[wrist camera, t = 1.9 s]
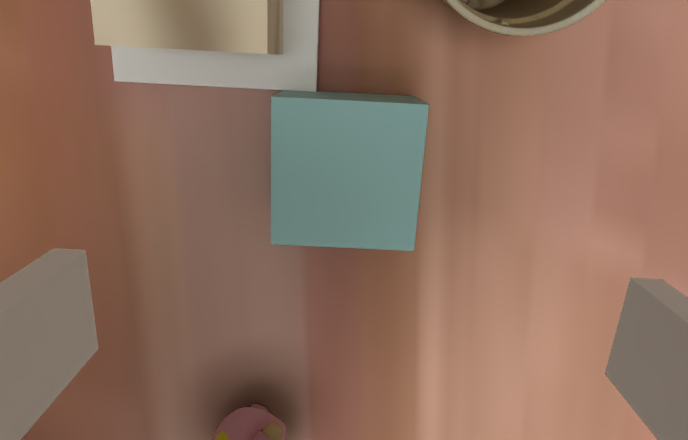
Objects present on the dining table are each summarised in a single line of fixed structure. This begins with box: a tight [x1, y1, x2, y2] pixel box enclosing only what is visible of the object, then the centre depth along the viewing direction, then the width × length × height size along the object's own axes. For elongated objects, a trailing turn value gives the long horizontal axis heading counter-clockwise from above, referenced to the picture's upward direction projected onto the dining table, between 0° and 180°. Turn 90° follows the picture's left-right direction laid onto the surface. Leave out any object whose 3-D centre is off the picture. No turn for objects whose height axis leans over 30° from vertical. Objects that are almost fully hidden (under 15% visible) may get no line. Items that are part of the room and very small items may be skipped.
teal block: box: [271, 90, 429, 251], centre depth 29 cm, size 8×8×6 cm
